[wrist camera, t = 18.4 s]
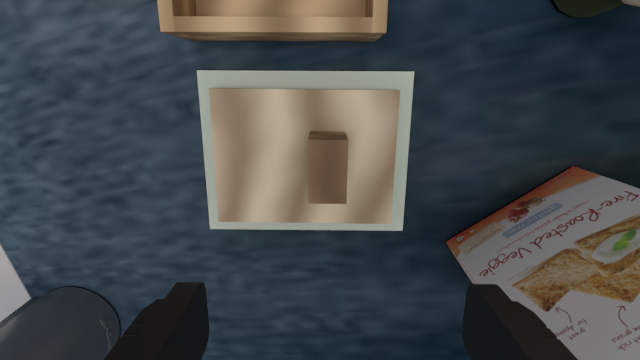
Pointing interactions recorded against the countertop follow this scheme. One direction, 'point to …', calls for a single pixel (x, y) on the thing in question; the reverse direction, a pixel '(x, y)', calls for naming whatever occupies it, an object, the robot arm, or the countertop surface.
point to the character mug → (590, 6)
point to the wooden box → (274, 20)
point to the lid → (304, 154)
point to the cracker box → (567, 260)
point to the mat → (310, 81)
